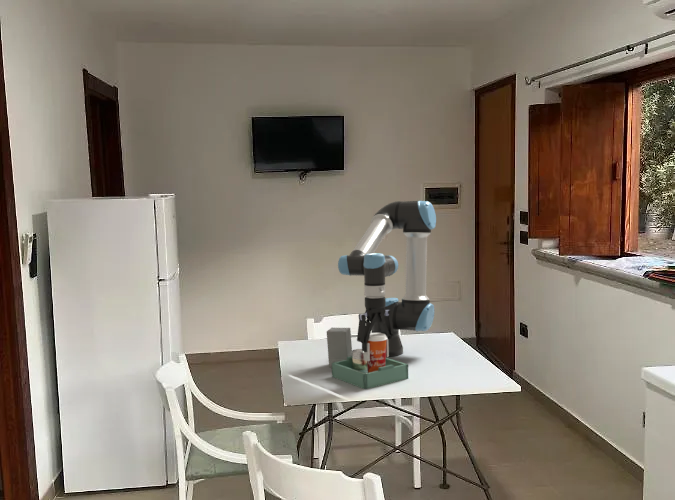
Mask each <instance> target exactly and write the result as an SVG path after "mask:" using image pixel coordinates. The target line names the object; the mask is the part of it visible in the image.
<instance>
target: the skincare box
mask: <svg viewBox="0 0 675 500" xmlns="http://www.w3.org/2000/svg"><path fill="white" fill-rule="evenodd" d="M351 330H352V329H351V327H331V328H329V329H328V330H326V341H327V356H328V368H331V369H332V363H334V362H339V361H343V360H347V357H350V356H352V350H353V348H352V347H353V346H352V345H353V344H352V331H351Z"/></svg>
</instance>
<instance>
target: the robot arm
mask: <svg viewBox="0 0 675 500" xmlns="http://www.w3.org/2000/svg"><path fill="white" fill-rule="evenodd" d="M436 224H437V216H436V211H435V207H434V206H433V204H432V203H431V202H430V201H427V200H407V201H406V200H404V201H401V200H400V201H393V202H390V203H388V204H386V205H384V206H383V207H381V208H380V209H379V210H377V211H376V213H374V214H373V216H372V218H371V220H370V225H369V226H368V227H367V229H366V230H365V232H364V233H363V235H362V237H361V238H360V239H359V241H358V242H357V243H356V246H355V247H354V248H353V250H352V251H351V252H350V253H349V255H348V254H346V255H340V257H339V259H338V262H337V268H338V271H339V273H340V274H341V275H345V276H350V277H351V276H356V277H357V276H360V277H361V276H363V277H364V281H363V282H364V285H363V286H364V287H363V289H364V308H365V312H364V313H358V316H357V317H358V327H357V328H358V329H357V338H356V341H357V342H359V343H361V349H362V352H363V354H364V360H365V361H370V343H368V339H369V336H370V333H383V334H385V335H386V336H387V338H388V339H387V340H386V358H389V357H394V356H400V355H402V354H404V346H403V344H402V340H401V338H400V333H399V331H414V332H427V331H429V330H430V329H431V326H432V325H433V322H434V318H435V305H434V304H433V303H431V300H430V298H429V297H428V295H427V269H428V268H427V267H428V265H427V262H428V261H427V259H428V237H429V236H430V235H431V234H432V230H434V229H435V228H436V226H437V225H436ZM400 229H401V230H402V234H403V235H404V236H405V237H406V244H405V245H406V248H405V251H406V254H405V294H404V296H402V297H401V301H400V300H399V298H398V297H387V298H386V297H385V296H386V277H390V276H392V275H393V274H395V273H396V272H398V269H399V262H398V260H397V258H395V256H393V255H384V253H382V252H379V253H377V252H376V250H377V249H378V247H379V246H380V244H381V243H382V241H383V240H384V238H385V237H386V235H388V234H389V233H391V232H392V231H393V230H400Z"/></svg>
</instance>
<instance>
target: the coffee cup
mask: <svg viewBox="0 0 675 500" xmlns="http://www.w3.org/2000/svg"><path fill="white" fill-rule="evenodd" d="M387 339H388V338H387V336H386V335H385V334H383V333H372V332H371V333H370V336H369V339H368V343H370V361H367V366H368V373H369V372H373V371H378V370H379V367H383V366H385V360H386V358H387V357H386V340H387Z"/></svg>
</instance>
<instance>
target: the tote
mask: <svg viewBox="0 0 675 500" xmlns="http://www.w3.org/2000/svg"><path fill="white" fill-rule="evenodd" d="M331 377H332V378H334V379H337V380H339V381H343V382H345V383H348V384H350V385H353V386H356V387H358V388H360V389H363V390H368V389H372V388H376V387H381V386H384V385H388V384H391V383H395V382H400V381H405V380H409V364H408V363H405V362H402V361H399V360H395V359H392V358H389V357H386V360H385V366H383V367H379V370H378V371H373V372H369V373H363V372H360V371H357V370H354V369H353V368H352V356H350V357H347V360H343V361H339V362H334V363H332V368H331Z"/></svg>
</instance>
